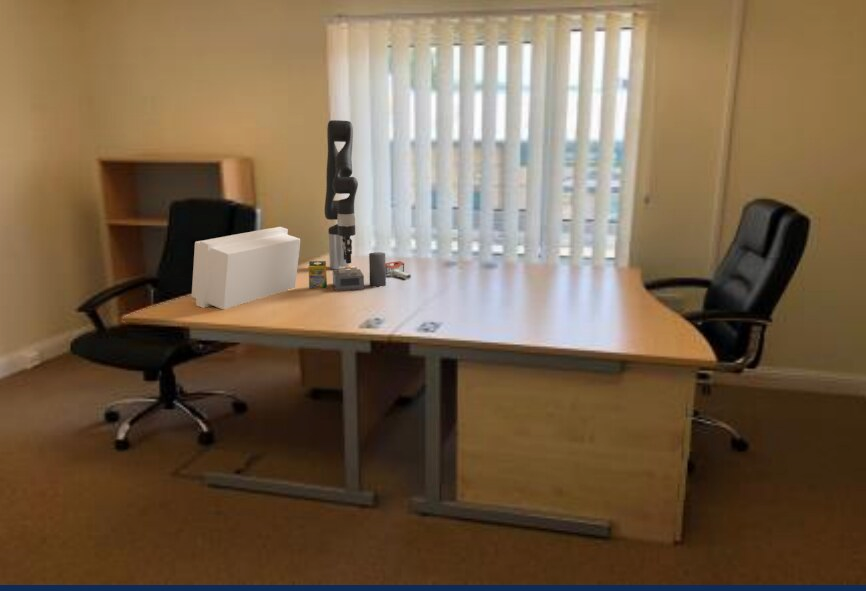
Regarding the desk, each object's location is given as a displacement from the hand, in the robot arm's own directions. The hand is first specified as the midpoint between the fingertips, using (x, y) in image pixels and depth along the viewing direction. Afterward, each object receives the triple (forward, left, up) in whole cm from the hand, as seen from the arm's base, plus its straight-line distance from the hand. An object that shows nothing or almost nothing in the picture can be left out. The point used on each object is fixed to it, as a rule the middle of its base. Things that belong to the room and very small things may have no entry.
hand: (347, 261), depth 297 cm
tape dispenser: (-19, +24, -12) cm, 33 cm away
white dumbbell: (0, 0, -5) cm, 5 cm away
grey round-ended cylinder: (0, +13, -11) cm, 17 cm away
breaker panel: (0, 0, -11) cm, 11 cm away
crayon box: (0, -13, -11) cm, 17 cm away
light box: (+9, -41, -12) cm, 44 cm away
